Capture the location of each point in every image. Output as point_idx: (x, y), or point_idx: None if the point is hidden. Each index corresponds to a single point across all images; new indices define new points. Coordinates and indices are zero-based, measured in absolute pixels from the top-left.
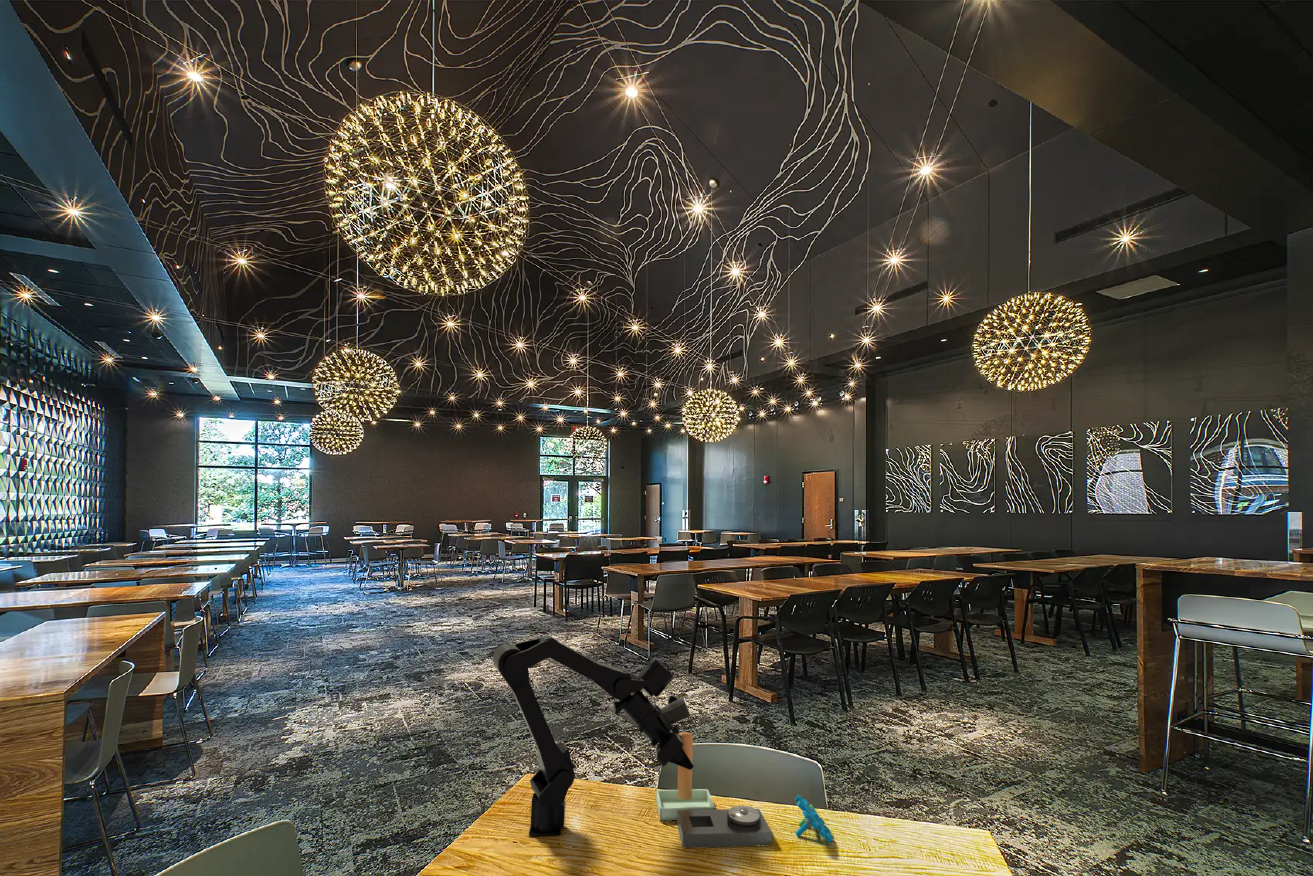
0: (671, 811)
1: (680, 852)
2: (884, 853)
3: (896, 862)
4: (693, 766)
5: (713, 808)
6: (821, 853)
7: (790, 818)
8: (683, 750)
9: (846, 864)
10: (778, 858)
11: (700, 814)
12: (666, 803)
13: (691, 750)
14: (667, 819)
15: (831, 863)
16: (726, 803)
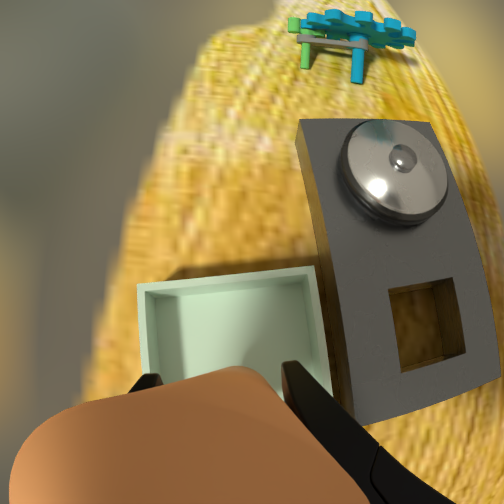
0: None
1: None
2: (368, 10)
3: (388, 10)
4: (296, 361)
5: (314, 272)
6: (407, 71)
7: (266, 77)
8: (418, 491)
9: (424, 56)
10: (456, 144)
11: (380, 327)
12: None
13: (269, 392)
14: None
15: (431, 71)
16: (171, 225)
